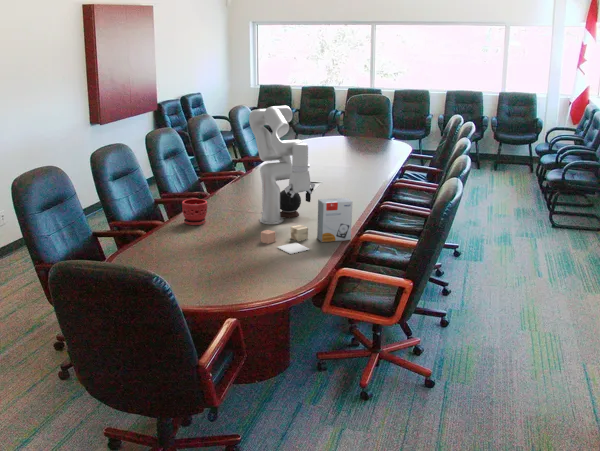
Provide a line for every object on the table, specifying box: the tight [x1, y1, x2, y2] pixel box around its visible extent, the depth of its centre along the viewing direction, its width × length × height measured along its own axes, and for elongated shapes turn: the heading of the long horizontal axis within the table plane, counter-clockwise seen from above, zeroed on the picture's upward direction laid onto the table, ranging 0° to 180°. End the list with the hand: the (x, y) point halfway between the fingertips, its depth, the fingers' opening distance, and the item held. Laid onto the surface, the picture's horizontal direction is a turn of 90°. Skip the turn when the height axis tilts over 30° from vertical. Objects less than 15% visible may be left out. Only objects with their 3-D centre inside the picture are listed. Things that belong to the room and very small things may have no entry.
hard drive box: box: [316, 197, 353, 243], centre depth 321 cm, size 16×8×20 cm, turn 105°
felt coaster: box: [276, 242, 311, 255], centre depth 309 cm, size 11×11×1 cm
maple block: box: [290, 224, 309, 242], centre depth 323 cm, size 6×6×6 cm
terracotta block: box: [260, 229, 276, 245], centre depth 319 cm, size 5×5×5 cm
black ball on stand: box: [280, 189, 302, 219], centre depth 360 cm, size 13×13×15 cm
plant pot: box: [181, 198, 208, 226], centre depth 346 cm, size 13×13×12 cm
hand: (299, 203), depth 318 cm, fingers open, 9 cm apart
